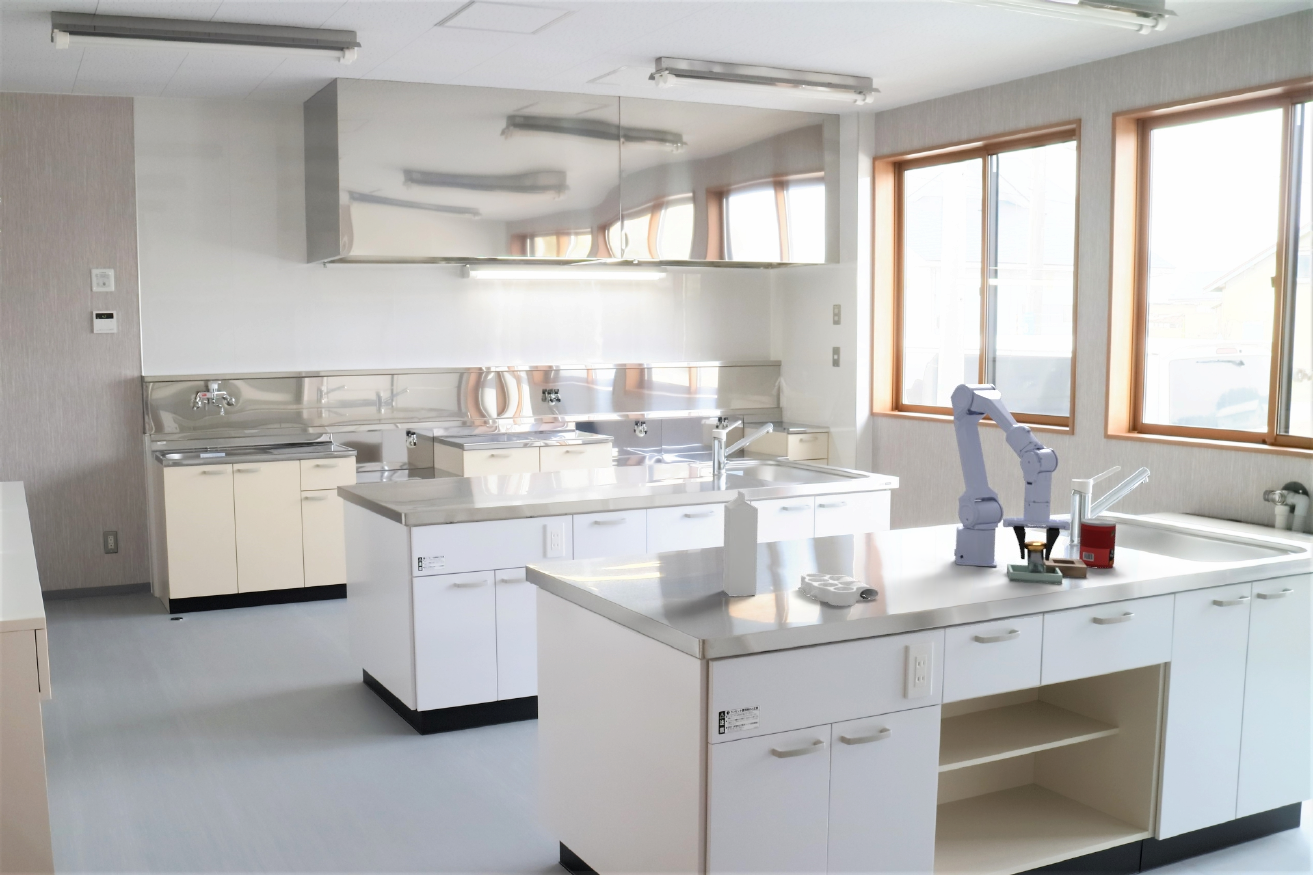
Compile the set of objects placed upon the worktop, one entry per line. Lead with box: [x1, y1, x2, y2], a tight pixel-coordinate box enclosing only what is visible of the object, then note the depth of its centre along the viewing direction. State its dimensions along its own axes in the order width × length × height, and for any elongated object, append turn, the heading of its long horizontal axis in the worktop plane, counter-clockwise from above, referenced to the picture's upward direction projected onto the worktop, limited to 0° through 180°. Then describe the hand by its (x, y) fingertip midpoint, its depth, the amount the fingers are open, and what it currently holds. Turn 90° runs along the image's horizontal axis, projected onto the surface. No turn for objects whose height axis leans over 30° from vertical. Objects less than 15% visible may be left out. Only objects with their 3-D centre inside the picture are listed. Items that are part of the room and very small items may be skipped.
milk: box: [722, 489, 759, 596], centre depth 231 cm, size 6×6×22 cm
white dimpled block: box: [797, 572, 879, 607], centre depth 232 cm, size 3×18×15 cm
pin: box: [1025, 540, 1046, 574], centre depth 250 cm, size 5×5×7 cm
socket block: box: [1044, 556, 1088, 579], centre depth 257 cm, size 9×9×2 cm
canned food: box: [1078, 518, 1117, 569], centre depth 265 cm, size 8×8×11 cm
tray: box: [1006, 563, 1064, 585], centre depth 250 cm, size 11×9×2 cm
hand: (1034, 559), depth 250 cm, fingers closed on pin, 5 cm apart
